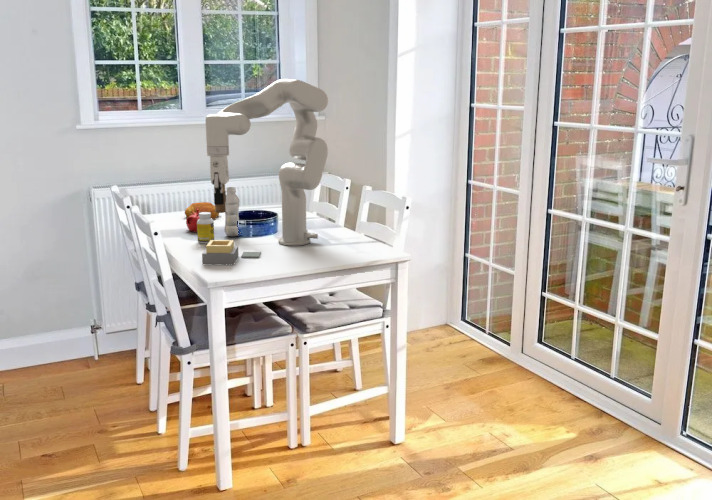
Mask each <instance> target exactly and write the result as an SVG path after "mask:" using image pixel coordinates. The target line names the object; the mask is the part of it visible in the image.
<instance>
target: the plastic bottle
mask: <svg viewBox="0 0 712 500" xmlns="http://www.w3.org/2000/svg"><path fill="white" fill-rule="evenodd" d="M225 191H226V202H225V208H226V212H224V214H225V215H224V216H225V219H224V220H225V221H224V222H225V223H224V234H225V235H226V236H228V237H238V236H239V235H238V234H239V233H238V231H239V230H238V227H237V221H238V220H239V221H240V217H239V213H240V211H239V209H240V208H239V207H240V198H239V196H238V195H237V189H236V187H234V186H229V187H225Z"/></svg>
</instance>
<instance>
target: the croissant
mask: <svg viewBox="0 0 712 500" xmlns="http://www.w3.org/2000/svg"><path fill="white" fill-rule="evenodd" d="M197 209H199V213H201V212H210V213H211V217H210V218H216V217H219V215H220V213H216V212H215V204H213V203H211V202H206V201H205V202H203V201H201V202H192V203H191V204H190V205H189V206H188V207H187V208H185V209H184V215H185V217H186V218H187V217H189V216H191V215H192V214H194V213H193V212H195V213H196V214H197V211H196V210H197ZM191 212H192V214H191ZM190 214H191V215H190ZM216 219H217V218H216Z"/></svg>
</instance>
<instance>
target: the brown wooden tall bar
mask: <svg viewBox="0 0 712 500" xmlns="http://www.w3.org/2000/svg"><path fill="white" fill-rule="evenodd" d="M218 184H221V182H219V183H218ZM219 187H220V186H219ZM222 191H223V192H222V193H223V194H224V204H223V205H215V204H214V206H215V212H216V213H219V214H222V213H224V214H225V212H226V208H225V191H226V184H225V185H223V183H222Z"/></svg>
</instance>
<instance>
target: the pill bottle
mask: <svg viewBox="0 0 712 500" xmlns="http://www.w3.org/2000/svg"><path fill="white" fill-rule="evenodd" d="M199 217H200V219H198V221H197V232H196V233H197V242H198V243H199V244H208V243H209V242H210V240H215V226H214V225H215V224H214V223H215V222H214V219H211V218H210V217H211V213H210V212H201V213H199Z"/></svg>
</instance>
